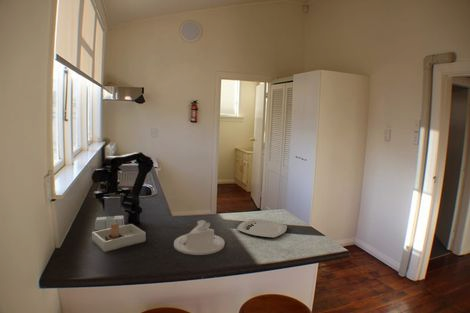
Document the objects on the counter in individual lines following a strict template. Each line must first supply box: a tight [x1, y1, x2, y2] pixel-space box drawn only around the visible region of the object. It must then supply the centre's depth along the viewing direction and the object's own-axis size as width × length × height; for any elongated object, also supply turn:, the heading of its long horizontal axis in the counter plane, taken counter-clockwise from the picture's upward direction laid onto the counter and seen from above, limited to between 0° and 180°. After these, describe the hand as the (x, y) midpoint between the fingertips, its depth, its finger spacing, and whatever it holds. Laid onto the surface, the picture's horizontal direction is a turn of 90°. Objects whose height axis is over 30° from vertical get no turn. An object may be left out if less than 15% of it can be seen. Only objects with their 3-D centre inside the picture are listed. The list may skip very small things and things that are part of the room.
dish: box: [173, 219, 226, 256], centre depth 148 cm, size 25×25×11 cm
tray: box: [91, 223, 147, 253], centre depth 148 cm, size 20×16×4 cm
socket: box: [105, 233, 125, 241], centre depth 146 cm, size 7×7×2 cm
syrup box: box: [94, 214, 125, 231], centre depth 165 cm, size 6×6×14 cm
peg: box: [111, 223, 119, 239], centre depth 146 cm, size 4×4×8 cm
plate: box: [236, 218, 288, 239], centre depth 171 cm, size 27×27×2 cm
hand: (112, 208), depth 160 cm, fingers open, 9 cm apart
